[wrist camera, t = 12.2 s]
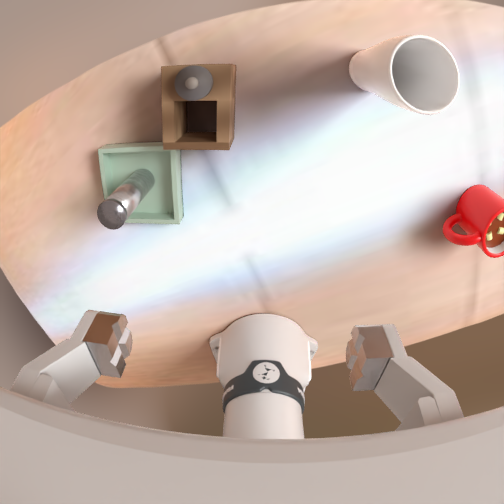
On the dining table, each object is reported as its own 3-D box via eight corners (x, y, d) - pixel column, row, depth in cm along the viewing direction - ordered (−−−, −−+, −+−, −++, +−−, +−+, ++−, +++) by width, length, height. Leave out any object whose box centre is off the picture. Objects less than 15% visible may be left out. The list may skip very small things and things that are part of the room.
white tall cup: (348, 100, 34) (395, 120, 21) (335, 47, 31) (379, 34, 18) (399, 94, 33) (465, 113, 20) (388, 42, 30) (453, 34, 17)
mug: (430, 201, 40) (456, 227, 33) (492, 178, 37) (523, 200, 31) (435, 246, 44) (458, 275, 37) (494, 222, 41) (520, 247, 34)
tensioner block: (234, 138, 37) (227, 154, 30) (176, 138, 37) (158, 154, 31) (236, 65, 32) (229, 63, 26) (176, 66, 32) (155, 66, 26)
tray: (183, 215, 43) (179, 224, 41) (115, 214, 43) (108, 222, 41) (180, 141, 37) (175, 145, 35) (106, 144, 37) (97, 149, 35)
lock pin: (155, 191, 40) (127, 229, 31) (133, 191, 40) (100, 229, 31) (153, 168, 39) (122, 200, 30) (130, 169, 39) (95, 201, 30)
